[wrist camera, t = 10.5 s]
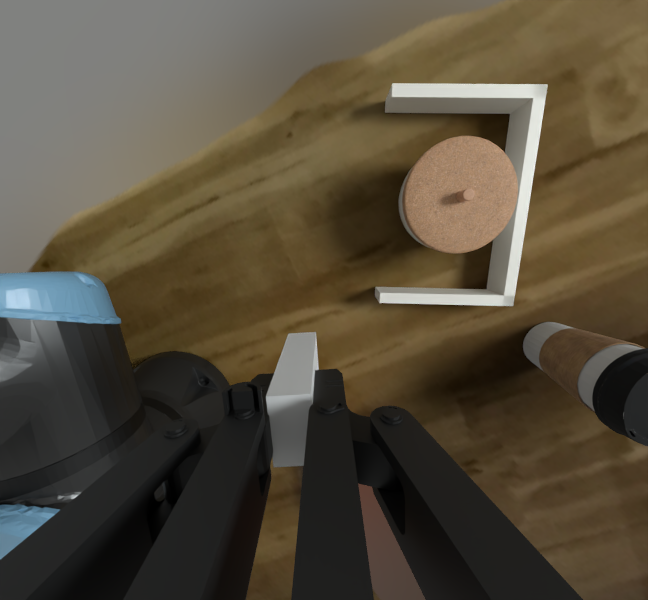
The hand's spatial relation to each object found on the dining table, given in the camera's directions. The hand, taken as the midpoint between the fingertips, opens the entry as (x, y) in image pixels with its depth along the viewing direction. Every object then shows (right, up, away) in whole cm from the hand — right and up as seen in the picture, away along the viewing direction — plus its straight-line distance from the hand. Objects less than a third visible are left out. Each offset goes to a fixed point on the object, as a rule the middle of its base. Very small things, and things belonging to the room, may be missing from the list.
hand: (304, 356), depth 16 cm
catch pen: (+15, +14, +20) cm, 29 cm away
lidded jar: (+14, +15, +20) cm, 28 cm away
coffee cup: (+30, -3, +23) cm, 38 cm away
